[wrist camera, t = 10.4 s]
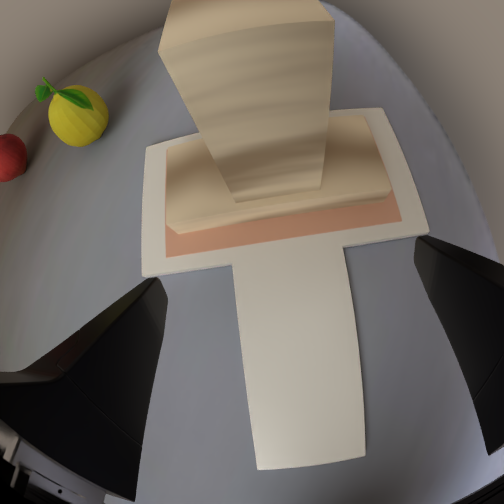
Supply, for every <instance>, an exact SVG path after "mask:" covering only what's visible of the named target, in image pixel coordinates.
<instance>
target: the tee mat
mask: <svg viewBox="0 0 504 504" xmlns="http://www.w3.org/2000/svg"><path fill="white" fill-rule="evenodd" d="M352 115H364V118H365V120H366V122H367V124H368V127H369V129H370V131H371V134H372V136H373V139H374V141H375V144H376V146H377V149H378V151H379V154H380V157H381V159H382V162H383V165H384V168H385V170H386V173H387V176H388V179H389V182H390V185H391V188H392V189H391V191H390V193H389V194H388V196H387V197H386V199H385V201H384V202H381V203H373V204H365V205H358V206H350V207H343V208H336V209H329V210H322V211H315V212H308V213H301V214H295V215H288V216H282V217H276V218H269V219H263V220H257V221H251V222H245V223H239V224H233V225H227V226H221V227H216V228H210V229H204V230H199V231H193V232H188V233H182V234H177V233H176V232H175V231H174V230H172V229H171V228H170V227H169V226H167V225H166V178H167V151H168V147H170V146H174V145H178V144H182V143H185V142H189V141H193V140H197V139H201V138H202V136H201V134H200V132H199V133H195V134H191V135H187V136H183V137H180V138H176V139H172V140H169V141H165V142H162V143H158V144H155V145H152V146H149V147H146V157H145V169H144V183H143V202H142V276H143V277H153V276H161V275H168V274H175V273H181V272H188V271H195V270H202V269H209V268H216V267H223V266H229V265H232V268H233V278H234V287H235V297H236V306H237V315H238V323H239V332H240V341H241V349H242V357H243V366H244V374H245V382H246V389H247V397H248V405H249V412H250V420H251V427H252V434H253V441H254V448H255V455H256V462H257V469H258V470H268V469H284V468H295V467H304V466H312V465H319V464H326V463H332V462H338V461H343V460H348V459H353V458H358V457H362V456H365V422H364V403H363V389H362V377H361V366H360V356H359V347H358V339H357V331H356V324H355V316H354V310H353V303H352V297H351V290H350V285H349V279H348V273H347V268H346V262H345V257H344V252H343V248H346V247H352V246H359V245H365V244H371V243H377V242H383V241H389V240H395V239H401V238H407V237H413V236H419V235H425V234H427V233H429V232H430V231H429V227H428V224H427V220H426V217H425V213H424V210H423V207H422V204H421V201H420V198H419V195H418V192H417V189H416V186H415V183H414V180H413V178H412V175H411V172H410V170H409V167H408V165H407V162H406V159H405V157H404V155H403V152H402V150H401V147H400V145H399V143H398V140H397V138H396V136H395V134H394V132H393V129H392V127H391V125H390V123H389V121H388V119H387V117H386V115H385V113H384V111H383V109H382V108H359V109H343V110H330V111H329V117H338V116H352Z"/></svg>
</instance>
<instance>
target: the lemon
mask: <svg viewBox="0 0 504 504" xmlns="http://www.w3.org/2000/svg"><path fill="white" fill-rule="evenodd" d="M43 81H44V82H45V83H46V86H42V85H38V86H37V87H36V90H35V94H36V97H37V99H38V100H39V102H42V101H43V100H45V99H46V98H48V97H49V96H50V95H51V93H52V92H53V91H54V92H55V94H54V98H53V99H52V101H51V103H50V107H49V113H48V114H49V122H50V125H51V127H52V130H53V131H54V132H55V134H56V135H57V136H58V137H59V138H60V139H61V140H62V141H64V142H65V143H66V144H68V145H71V146H78V147H83V146H86V145H89V144H90V143H92V142H93V141H95V140H98V139H99V138H100V137H101V134H102V133H103V131H104V130H105V128H106V127H107V124H108V119H109V113H108V108H107V106H106V104H105V102H104V101H103V99H102V98H101V97H100V96H99V95H98V94H97V93H96V92H95V91H93V90H92V89H90V88H87V87H84V86H81V85H73V86H69V87H66V88H64V89H62V90H56V89H55V88H54V87H52V86H51V85H50V83H49V82H48V81H47V80H46V79H45V78H44V77H43ZM47 85H48V86H47Z"/></svg>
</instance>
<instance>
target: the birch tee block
mask: <svg viewBox="0 0 504 504" xmlns="http://www.w3.org/2000/svg"><path fill="white" fill-rule="evenodd" d="M334 29H335V20H334V19H333V18H332V17H331V15H330V14H329V13H328V12H327V10H326V9H325V8H324V7H323V6H322V4H321V3H320V2H319V1H318V0H172V2H171V6H170V9H169V12H168V16H167V19H166V23H165V26H164V30H163V33H162V37H161V41H160V45H159V49H158V53H159V55H160V57H161V59H162V61H163V63H164V64H165V66H166V68H167V70H168V72H169V74H170V76H171V78H172V80H173V82H174V84H175V86H176V87H177V89H178V91H179V93H180V95H181V97H182V99H183V101H184V103H185V105H186V107H187V109H188V111H189V113H190V115H191V116H192V118H193V120H194V122H195V124H196V126H197V128H198V130H199V132H200V134H201V136H202V138H201V139H197V140H193V141H189V142H185V143H182V144H178V145H174V146H170V147H168V151H167V178H166V225H167V226H169V227H170V228H171V229H172V230H174V231H175V232H176V233H177V234H182V233H188V232H193V231H199V230H204V229H210V228H216V227H221V226H227V225H233V224H239V223H245V222H251V221H257V220H263V219H269V218H276V217H282V216H288V215H295V214H301V213H308V212H315V211H322V210H329V209H336V208H343V207H350V206H358V205H365V204H373V203H381V202H384V201H385V199H386V197H387V196H388V194H389V193H390V191H391V189H392V188H391V185H390V182H389V179H388V176H387V173H386V170H385V168H384V165H383V162H382V159H381V157H380V154H379V151H378V149H377V146H376V144H375V141H374V139H373V136H372V134H371V131H370V129H369V127H368V124H367V122H366V120H365V118H364V115H352V116H338V117H329V108H330V96H331V83H332V69H333V52H334Z"/></svg>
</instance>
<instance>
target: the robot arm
mask: <svg viewBox="0 0 504 504" xmlns="http://www.w3.org/2000/svg"><path fill="white" fill-rule="evenodd" d="M414 263H415V266H416V268H417V271H418V273H419V275H420V278H421V280H422V282H423V285H424V287H425V290H426V292H427V295H428V297H429V299H430V301H431V303H432V305H433V307H434V309H435V311H436V313H437V315H438V317H439V319H440V322H441V324H442V326H443V328H444V330H445V332H446V334H447V337H448V339H449V341H450V343H451V346H452V348H453V350H454V353H455V355H456V357H457V360H458V362H459V365H460V367H461V370H462V372H463V375H464V378H465V380H466V383H467V386H468V388H469V391H470V394H471V397H472V400H473V404H474V407H475V410H476V413H477V416H478V420H479V423H480V426H481V430H482V434H483V438H484V441H485V446H486V450H487V453H488V456H489V455H491V454H493V453H494V452H496V451H498V450H499V449H501V448H502V447H504V266H503V265H502V264H500V263H498V262H495V261H493V260H491V259H488V258H486V257H483V256H481V255H478V254H476V253H473V252H471V251H468V250H466V249H463V248H461V247H458V246H455V245H453V244H450V243H447V242H445V241H442V240H439V239H437V238H434V237H431V236H428V235H424V236H419V237H417V238H416V242H415V252H414ZM167 305H168V297H167V294H166V292H165V290H164V288H163V285H162V283H161V281H160V279H159V278H157V277H153V278H148V279H146V280H144V281H143V282H142V283H140V284H139V285H138V286H136V287H135V288H133V289H132V290H131V291H129V292H128V293H127V294H125V295H124V296H123V297H121V298H120V299H118V300H117V301H116V302H114V303H113V304H112V305H110V306H109V307H108V308H106V309H105V310H104V311H102V312H101V313H100V314H99V315H97V316H96V317H95V318H93V319H92V320H91V321H89V322H88V323H87V324H85V325H84V326H83V327H82V328H80V330H78V331H76V332H75V333H74V334H72V335H71V336H70V337H69V338H67V339H66V340H65V341H63V342H62V343H61V344H59V345H58V346H56V347H55V348H54V349H52V350H51V351H50V352H48V353H47V354H45V355H44V356H42V357H41V358H40V359H38V360H37V361H35V362H34V363H33V364H31V365H30V366H28V367H27V368H25V369H23V370H20V371H17V372H0V504H105V503H104V499H105V495H106V494H109V495H112V496H115V497H118V498H122V499H125V500H129V501H132V502H135V498H136V489H137V481H138V473H139V465H140V458H141V452H142V444H143V438H144V431H145V425H146V420H147V414H148V409H149V403H150V398H151V393H152V388H153V383H154V378H155V373H156V368H157V364H158V359H159V355H160V350H161V346H162V341H163V336H164V329H165V320H166V312H167ZM452 504H504V474H503V475H502V476H500V477H498V478H497V479H495V480H494V481H492V482H490V483H489V484H487V485H485V486H484V487H482V488H480V489H479V490H477V491H475V492H473V493H471V494H470V495H468V496H466V497H464V498H462V499H460V500H458V501H456V502H454V503H452Z"/></svg>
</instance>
